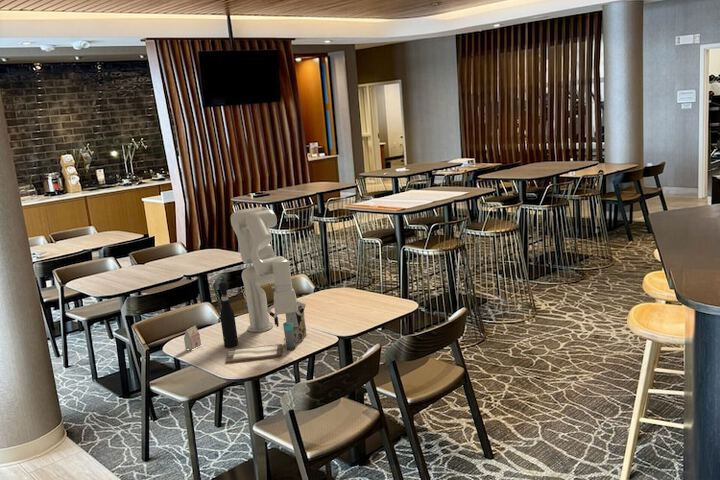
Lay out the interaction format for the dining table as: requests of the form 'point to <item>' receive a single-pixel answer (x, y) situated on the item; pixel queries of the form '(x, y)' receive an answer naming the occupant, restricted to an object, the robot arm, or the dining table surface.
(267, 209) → the robot arm
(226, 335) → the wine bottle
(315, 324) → the dining table surface
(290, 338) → the marker
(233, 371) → the dining table surface
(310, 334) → the dining table surface
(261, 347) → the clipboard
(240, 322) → the dining table surface
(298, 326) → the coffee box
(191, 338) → the red and white box
